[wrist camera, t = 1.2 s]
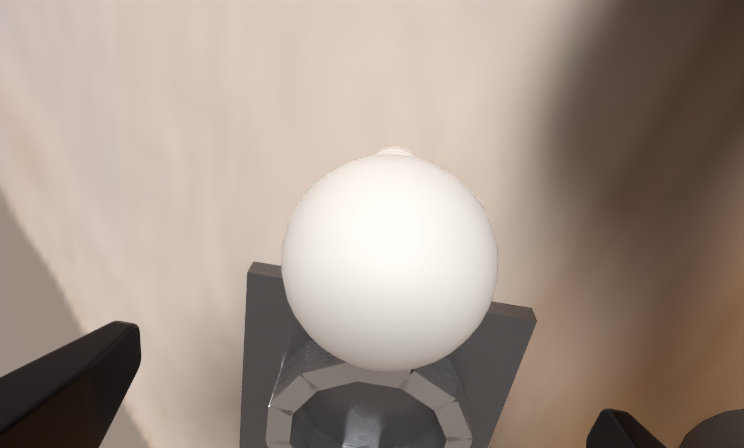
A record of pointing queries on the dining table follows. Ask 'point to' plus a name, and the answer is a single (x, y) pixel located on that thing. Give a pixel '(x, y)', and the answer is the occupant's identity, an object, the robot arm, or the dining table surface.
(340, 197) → the lightbulb
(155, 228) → the dining table surface
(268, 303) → the bulb socket
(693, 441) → the candle holder
